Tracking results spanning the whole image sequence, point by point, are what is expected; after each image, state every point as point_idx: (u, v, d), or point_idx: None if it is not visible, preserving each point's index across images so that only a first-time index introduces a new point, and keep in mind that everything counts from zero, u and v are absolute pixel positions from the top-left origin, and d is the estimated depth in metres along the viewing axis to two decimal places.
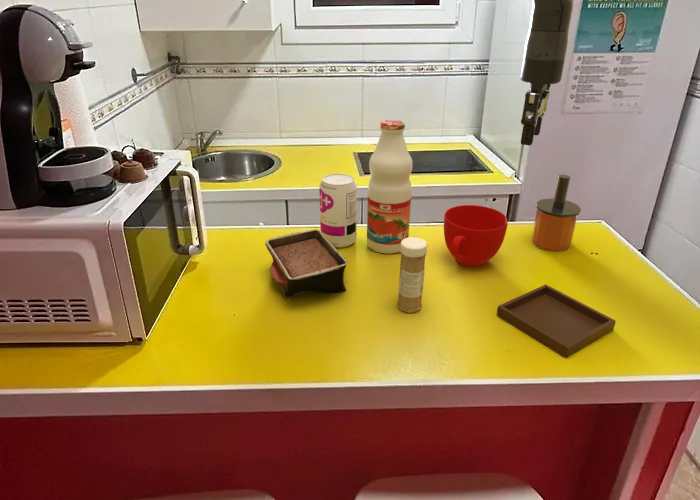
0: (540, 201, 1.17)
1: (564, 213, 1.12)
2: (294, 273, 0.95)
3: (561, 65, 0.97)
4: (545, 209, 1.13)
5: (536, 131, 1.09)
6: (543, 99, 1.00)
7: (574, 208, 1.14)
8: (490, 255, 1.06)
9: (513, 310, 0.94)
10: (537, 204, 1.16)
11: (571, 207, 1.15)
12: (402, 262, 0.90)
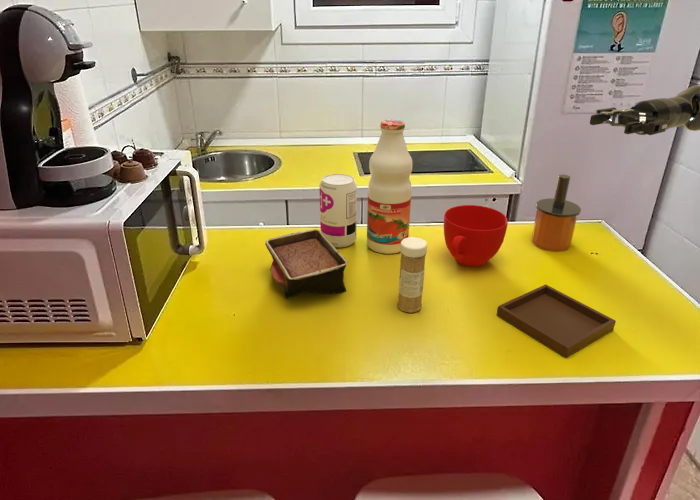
0: (540, 201, 1.17)
1: (564, 213, 1.12)
2: (294, 273, 0.95)
3: None
4: (545, 209, 1.13)
5: None
6: None
7: (574, 208, 1.14)
8: (490, 255, 1.06)
9: (513, 310, 0.94)
10: (537, 204, 1.16)
11: (571, 207, 1.15)
12: (402, 262, 0.90)
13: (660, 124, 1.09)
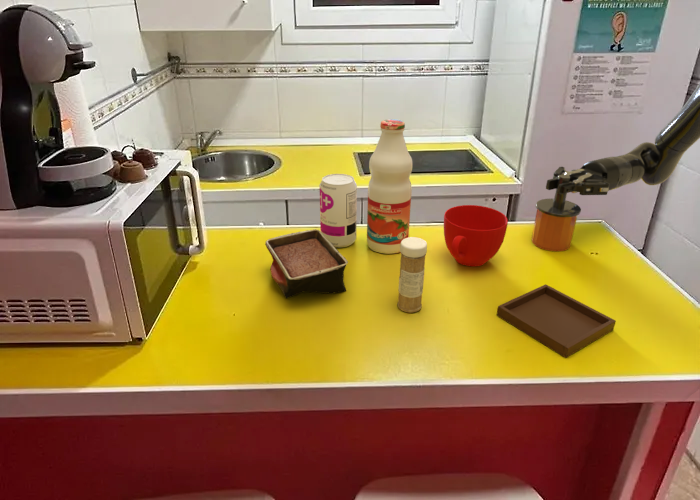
0: (540, 201, 1.17)
1: (564, 213, 1.11)
2: (294, 273, 0.95)
3: (600, 159, 1.18)
4: (545, 209, 1.13)
5: None
6: None
7: (574, 208, 1.14)
8: (490, 255, 1.06)
9: (513, 310, 0.94)
10: (537, 204, 1.16)
11: (571, 207, 1.14)
12: (402, 262, 0.90)
13: (595, 186, 1.10)
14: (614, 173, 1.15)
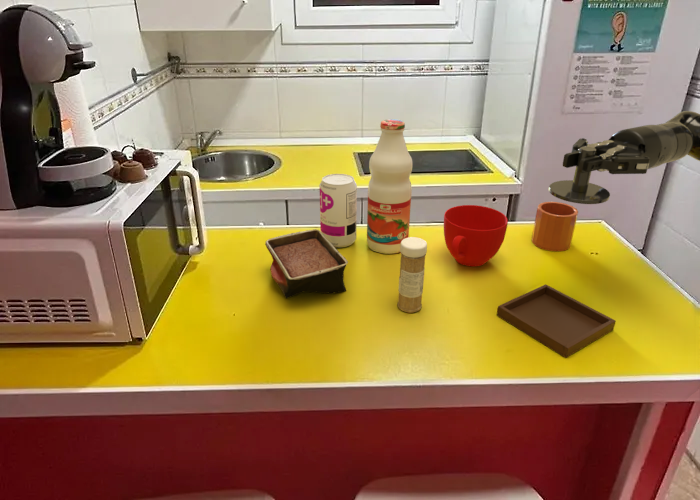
0: (554, 184, 0.88)
1: (588, 199, 0.82)
2: (294, 273, 0.95)
3: None
4: (562, 193, 0.84)
5: None
6: None
7: (601, 192, 0.85)
8: (490, 255, 1.06)
9: (513, 310, 0.94)
10: (551, 187, 0.87)
11: (596, 191, 0.85)
12: (402, 262, 0.90)
13: (630, 161, 0.81)
14: (654, 145, 0.85)
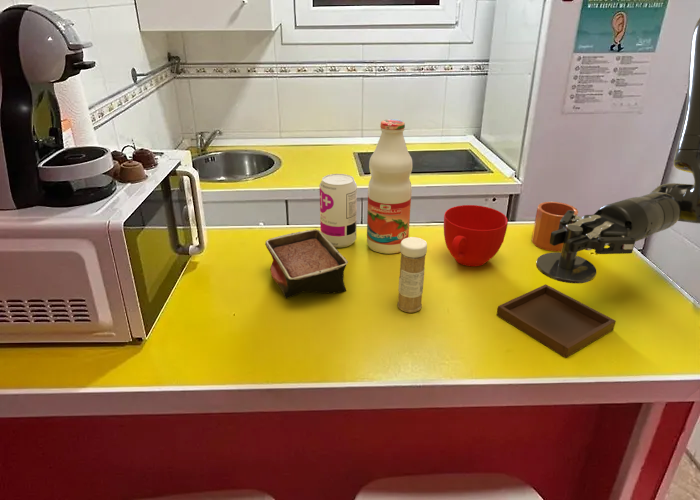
0: (542, 257, 0.89)
1: (574, 277, 0.83)
2: (294, 273, 0.95)
3: (621, 201, 0.89)
4: (549, 271, 0.85)
5: None
6: None
7: (587, 269, 0.85)
8: (490, 255, 1.06)
9: (513, 310, 0.94)
10: (538, 262, 0.87)
11: (583, 267, 0.86)
12: (402, 262, 0.90)
13: (616, 242, 0.81)
14: (641, 222, 0.86)
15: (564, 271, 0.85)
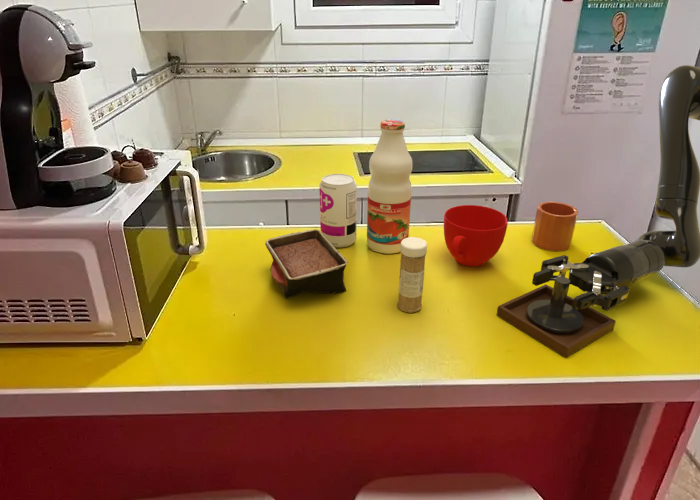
0: (532, 305, 0.93)
1: (562, 327, 0.87)
2: (294, 273, 0.95)
3: (608, 250, 0.94)
4: (538, 320, 0.89)
5: None
6: None
7: (575, 318, 0.90)
8: (490, 255, 1.06)
9: (513, 310, 0.94)
10: (528, 310, 0.92)
11: (571, 316, 0.90)
12: (402, 262, 0.90)
13: (619, 296, 0.85)
14: (627, 271, 0.90)
15: (553, 320, 0.89)
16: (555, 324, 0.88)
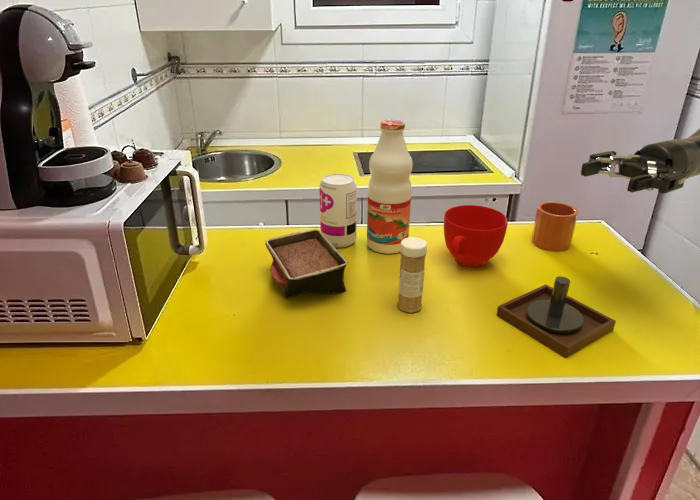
0: (532, 305, 0.93)
1: (562, 327, 0.87)
2: (294, 273, 0.95)
3: (659, 142, 0.89)
4: (538, 320, 0.89)
5: None
6: None
7: (575, 318, 0.90)
8: (490, 255, 1.06)
9: (513, 310, 0.94)
10: (528, 310, 0.92)
11: (571, 316, 0.90)
12: (402, 262, 0.90)
13: (677, 178, 0.80)
14: (681, 160, 0.86)
15: (553, 320, 0.89)
16: (555, 324, 0.88)
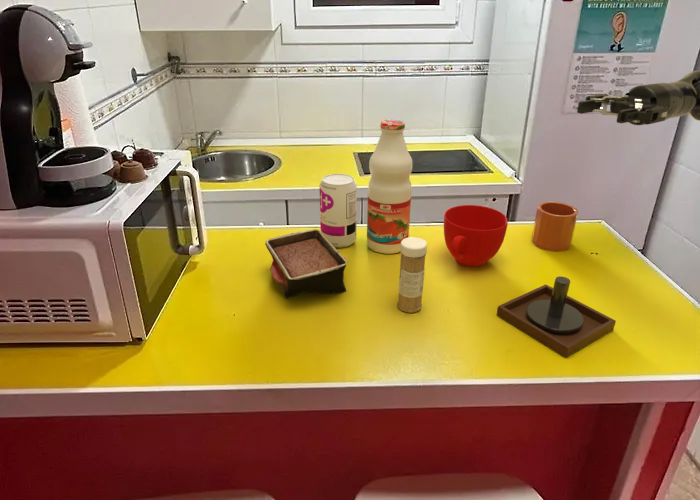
0: (532, 305, 0.93)
1: (562, 327, 0.87)
2: (294, 273, 0.95)
3: None
4: (538, 320, 0.89)
5: None
6: None
7: (575, 318, 0.90)
8: (490, 255, 1.06)
9: (513, 310, 0.94)
10: (528, 310, 0.92)
11: (571, 316, 0.90)
12: (402, 262, 0.90)
13: (659, 111, 0.93)
14: (664, 99, 0.99)
15: (553, 320, 0.89)
16: (555, 324, 0.88)
